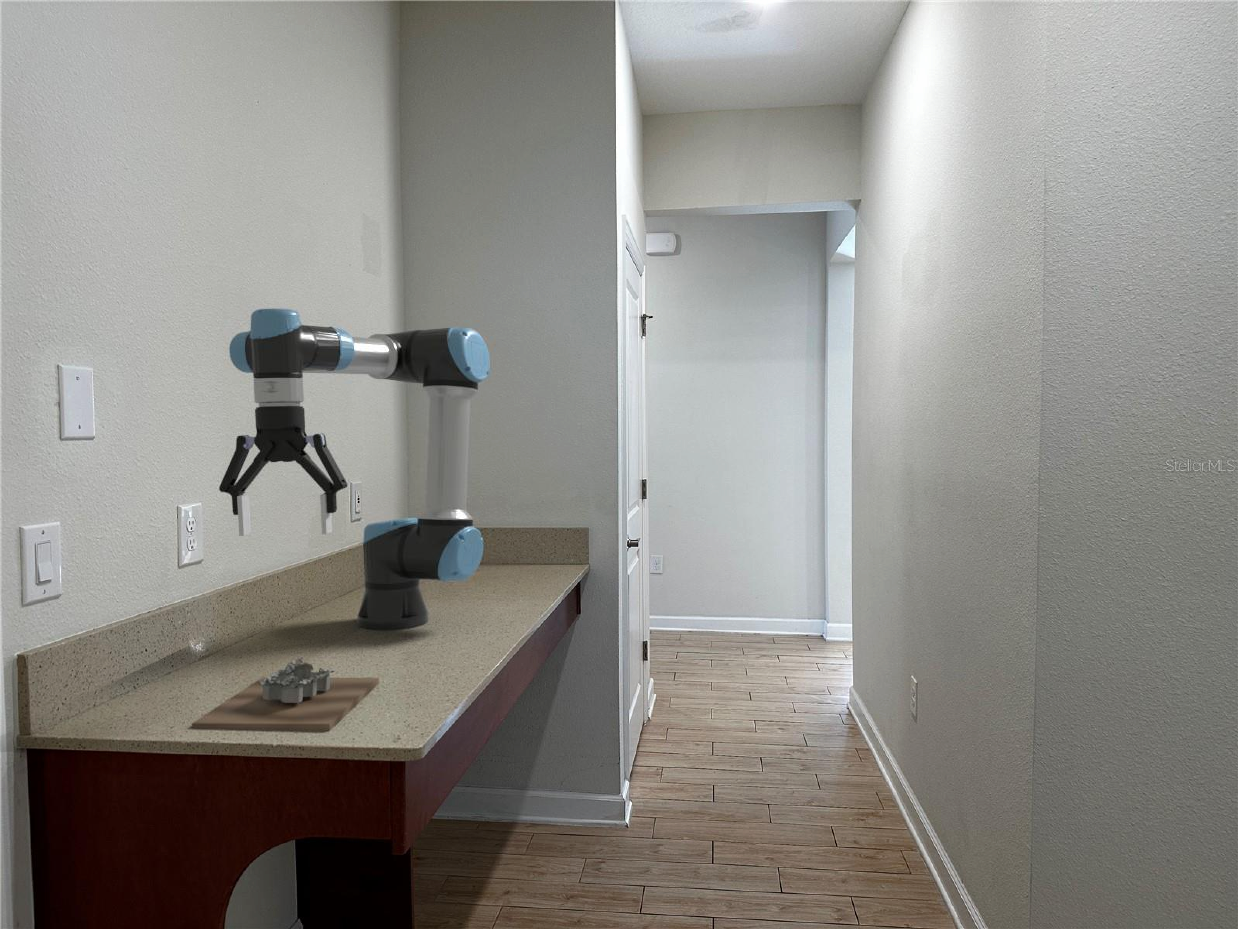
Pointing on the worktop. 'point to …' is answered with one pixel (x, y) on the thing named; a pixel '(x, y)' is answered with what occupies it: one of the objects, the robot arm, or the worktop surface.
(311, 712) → the walnut board
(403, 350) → the robot arm
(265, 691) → the egg carton
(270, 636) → the worktop surface
